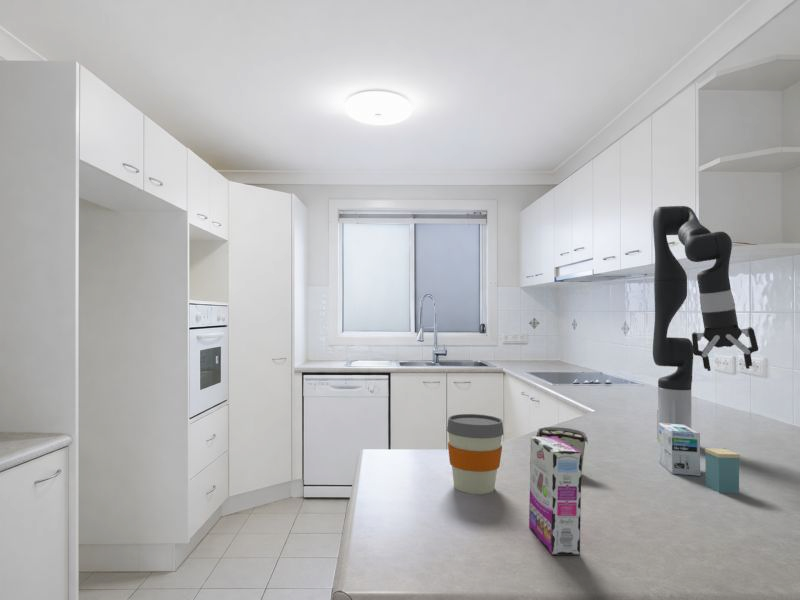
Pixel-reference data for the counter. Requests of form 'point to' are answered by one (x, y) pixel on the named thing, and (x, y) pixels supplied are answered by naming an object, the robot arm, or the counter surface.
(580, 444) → the food container
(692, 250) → the robot arm
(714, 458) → the tea tin
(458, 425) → the reusable coffee cup
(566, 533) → the candy bar box
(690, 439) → the light bulb box
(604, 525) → the counter surface
